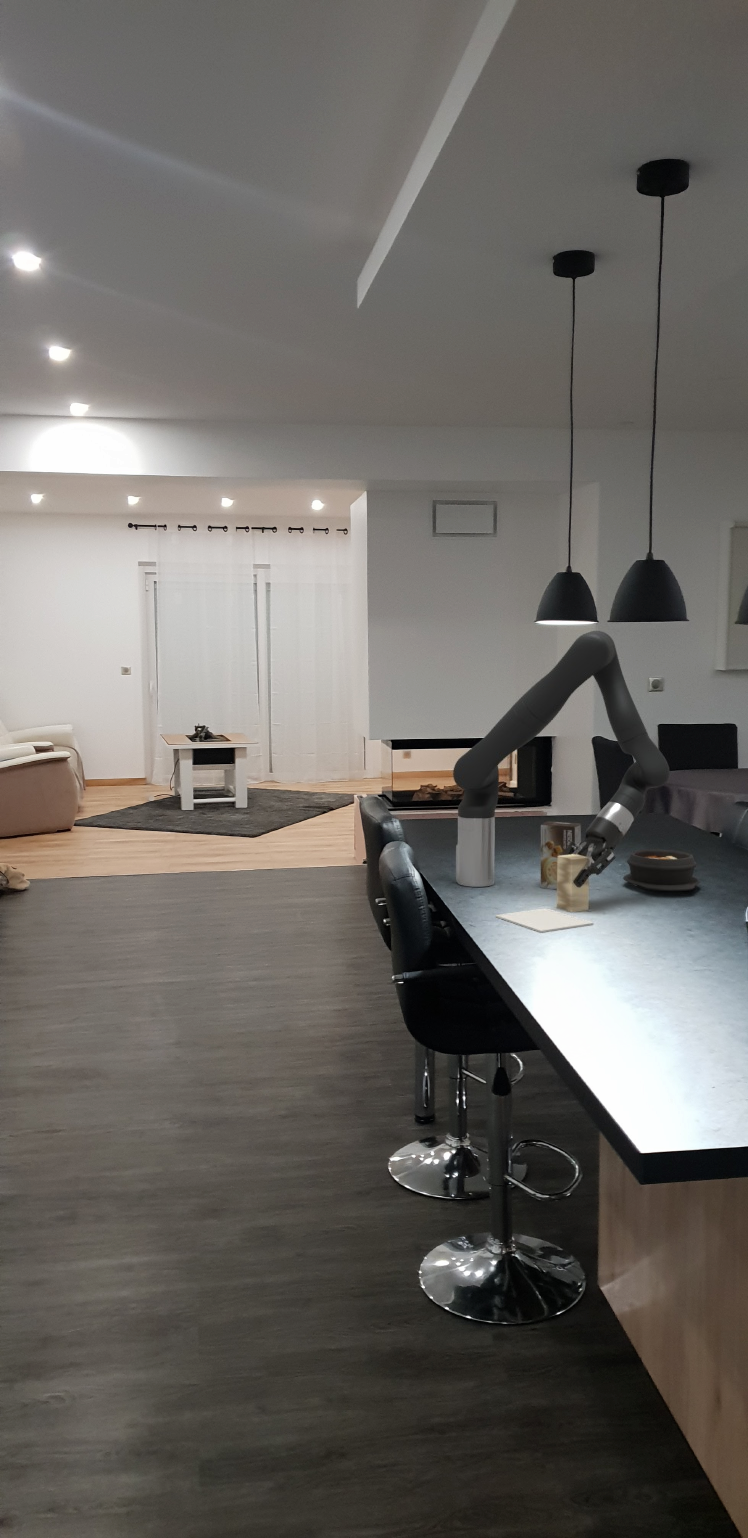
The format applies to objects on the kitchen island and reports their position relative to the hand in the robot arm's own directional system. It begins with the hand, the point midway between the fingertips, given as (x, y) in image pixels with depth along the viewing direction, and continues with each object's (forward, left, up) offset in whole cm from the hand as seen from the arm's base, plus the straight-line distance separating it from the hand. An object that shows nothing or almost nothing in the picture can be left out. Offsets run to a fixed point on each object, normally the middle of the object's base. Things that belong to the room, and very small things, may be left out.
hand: (568, 882), depth 240 cm
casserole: (-8, +36, -6) cm, 38 cm away
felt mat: (+6, -12, -6) cm, 14 cm away
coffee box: (-20, +14, -6) cm, 25 cm away
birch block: (0, +1, -6) cm, 6 cm away
